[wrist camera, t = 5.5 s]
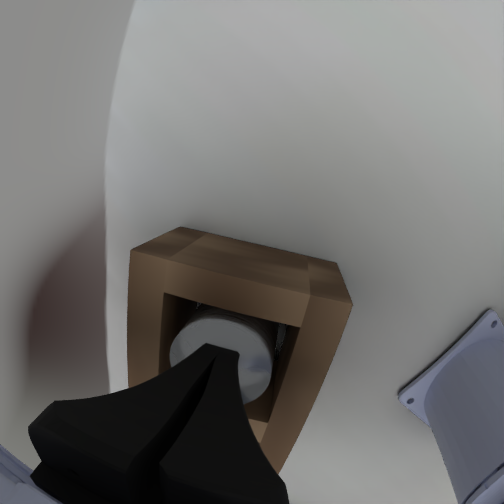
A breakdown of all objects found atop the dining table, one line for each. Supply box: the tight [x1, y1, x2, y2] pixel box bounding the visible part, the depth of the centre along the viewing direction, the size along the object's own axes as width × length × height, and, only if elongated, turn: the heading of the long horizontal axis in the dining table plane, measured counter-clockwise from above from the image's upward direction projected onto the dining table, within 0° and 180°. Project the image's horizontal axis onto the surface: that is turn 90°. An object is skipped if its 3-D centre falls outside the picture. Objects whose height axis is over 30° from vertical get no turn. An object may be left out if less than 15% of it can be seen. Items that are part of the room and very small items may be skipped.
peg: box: [170, 303, 279, 404], centre depth 13 cm, size 4×4×5 cm
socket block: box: [127, 227, 353, 474], centre depth 14 cm, size 8×14×5 cm, turn 168°
